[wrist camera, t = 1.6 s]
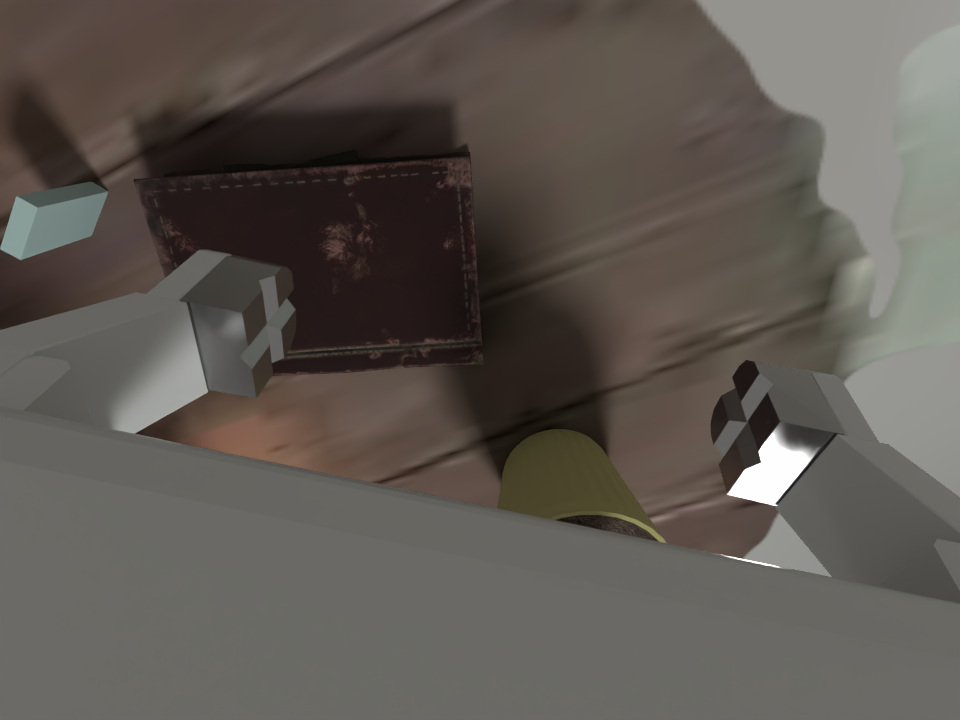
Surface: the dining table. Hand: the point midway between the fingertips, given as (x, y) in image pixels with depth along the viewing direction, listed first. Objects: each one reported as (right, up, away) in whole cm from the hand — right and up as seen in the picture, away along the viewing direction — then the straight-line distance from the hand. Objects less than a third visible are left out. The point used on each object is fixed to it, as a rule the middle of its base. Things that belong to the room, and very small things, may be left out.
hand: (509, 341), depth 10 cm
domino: (-33, +12, +35) cm, 50 cm away
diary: (-13, +8, +38) cm, 41 cm away
